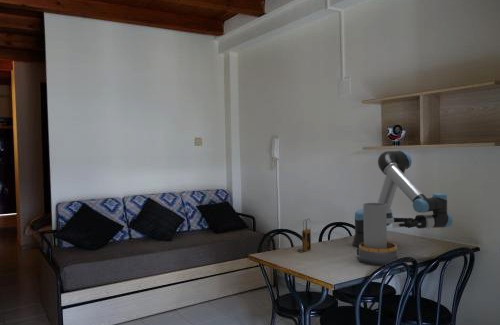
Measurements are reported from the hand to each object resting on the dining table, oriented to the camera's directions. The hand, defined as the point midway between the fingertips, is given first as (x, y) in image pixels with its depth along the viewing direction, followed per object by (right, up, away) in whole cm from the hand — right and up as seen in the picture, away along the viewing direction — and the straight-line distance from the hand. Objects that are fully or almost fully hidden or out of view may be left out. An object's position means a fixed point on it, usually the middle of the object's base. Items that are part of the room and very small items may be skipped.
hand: (387, 223), depth 247 cm
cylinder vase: (-7, -15, +1) cm, 16 cm away
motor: (-6, -21, +2) cm, 22 cm away
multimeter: (-45, -22, +32) cm, 59 cm away
